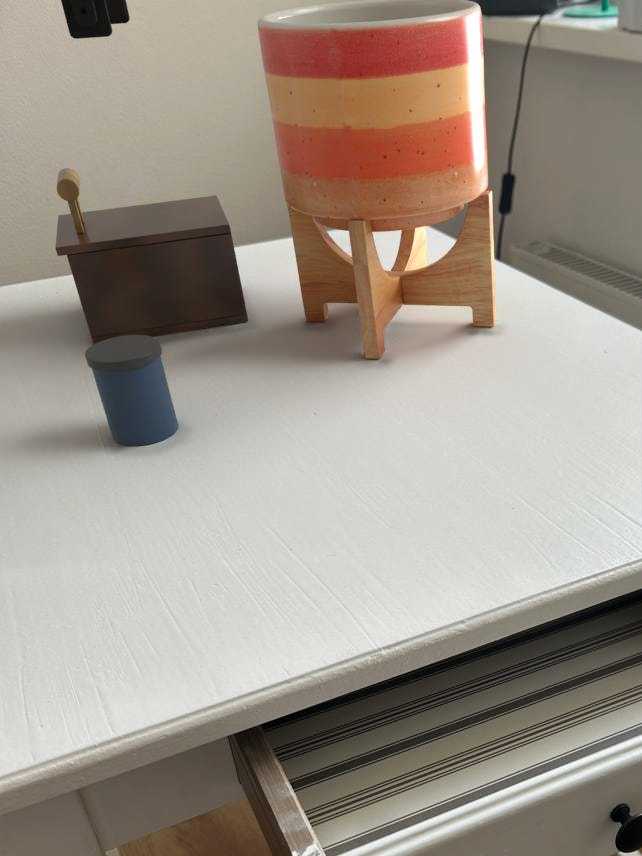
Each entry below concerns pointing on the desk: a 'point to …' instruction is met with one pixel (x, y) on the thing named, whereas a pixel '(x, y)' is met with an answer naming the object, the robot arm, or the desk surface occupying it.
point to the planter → (383, 153)
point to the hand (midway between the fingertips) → (102, 30)
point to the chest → (159, 287)
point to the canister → (133, 389)
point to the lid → (132, 221)
